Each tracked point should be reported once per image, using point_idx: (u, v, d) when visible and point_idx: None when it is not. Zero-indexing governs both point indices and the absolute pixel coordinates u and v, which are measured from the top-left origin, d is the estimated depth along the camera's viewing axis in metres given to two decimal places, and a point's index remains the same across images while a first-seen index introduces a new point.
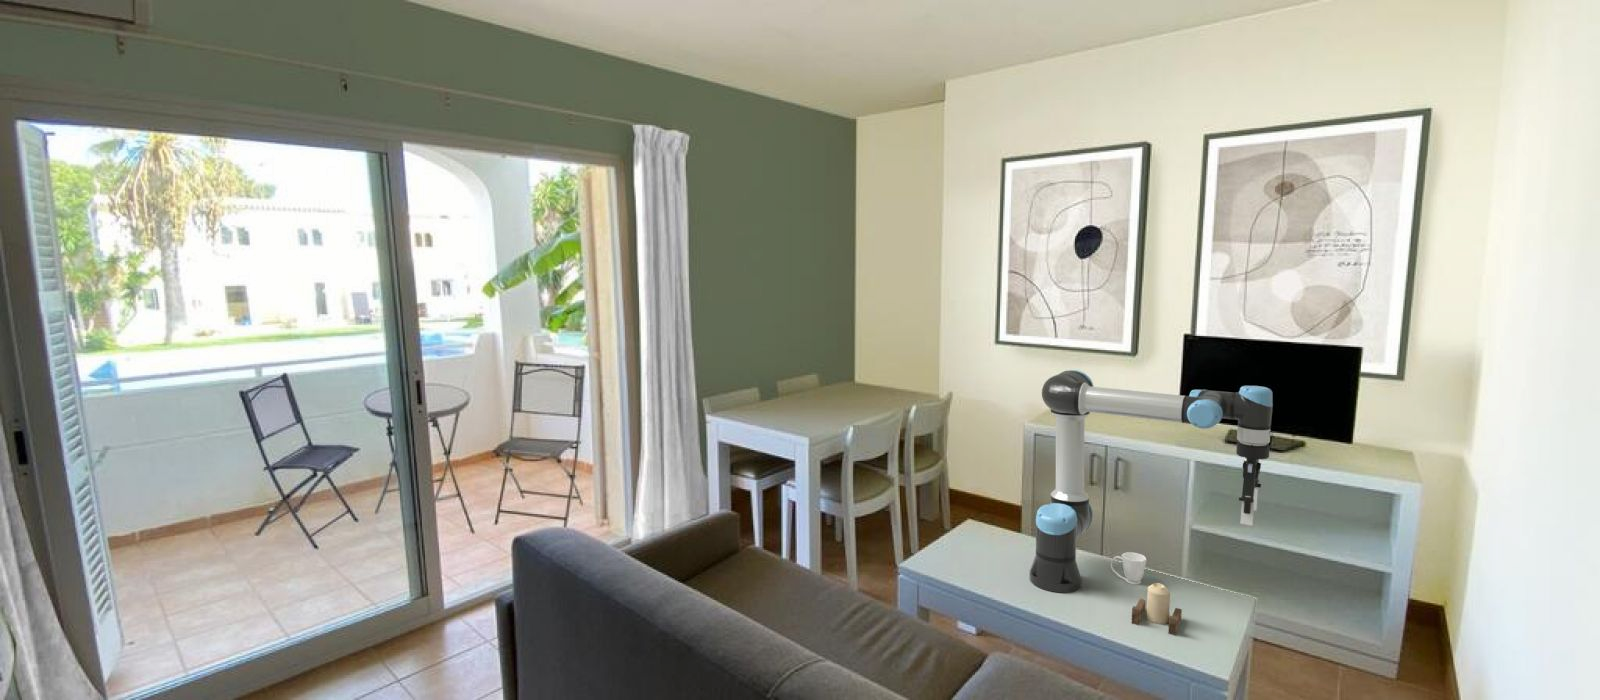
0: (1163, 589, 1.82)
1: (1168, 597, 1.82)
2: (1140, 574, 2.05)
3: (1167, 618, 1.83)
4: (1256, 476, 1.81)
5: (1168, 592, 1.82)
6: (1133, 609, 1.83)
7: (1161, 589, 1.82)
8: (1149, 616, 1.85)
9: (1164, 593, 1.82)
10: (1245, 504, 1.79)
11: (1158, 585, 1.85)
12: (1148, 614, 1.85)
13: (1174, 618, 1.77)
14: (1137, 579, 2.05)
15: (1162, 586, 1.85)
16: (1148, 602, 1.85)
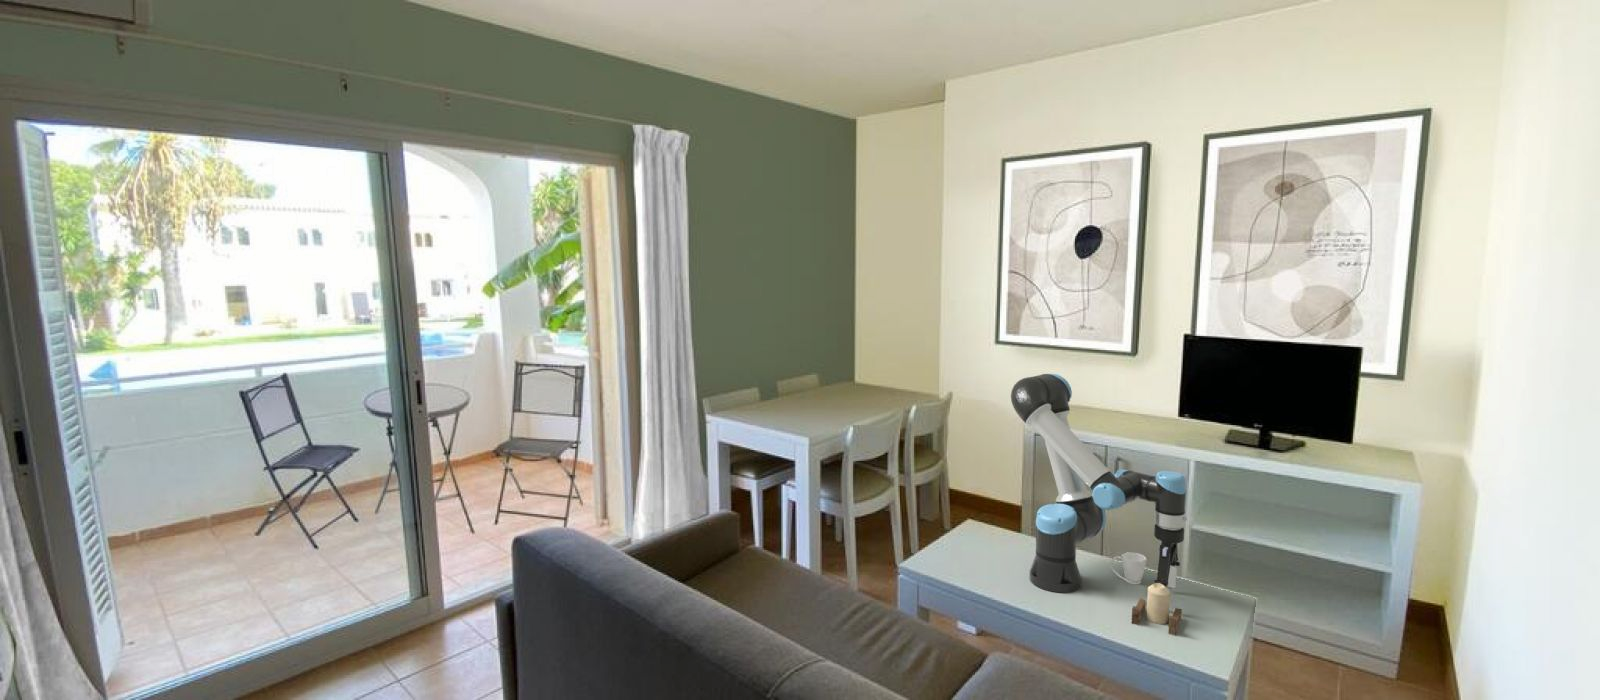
0: (1163, 589, 1.82)
1: (1168, 597, 1.82)
2: (1140, 574, 2.05)
3: (1167, 618, 1.83)
4: (1171, 559, 1.89)
5: (1168, 592, 1.82)
6: (1133, 609, 1.83)
7: (1161, 589, 1.82)
8: (1149, 616, 1.84)
9: (1164, 594, 1.81)
10: None
11: (1158, 585, 1.85)
12: (1148, 614, 1.85)
13: (1174, 618, 1.77)
14: (1137, 579, 2.05)
15: (1162, 586, 1.84)
16: (1148, 602, 1.85)
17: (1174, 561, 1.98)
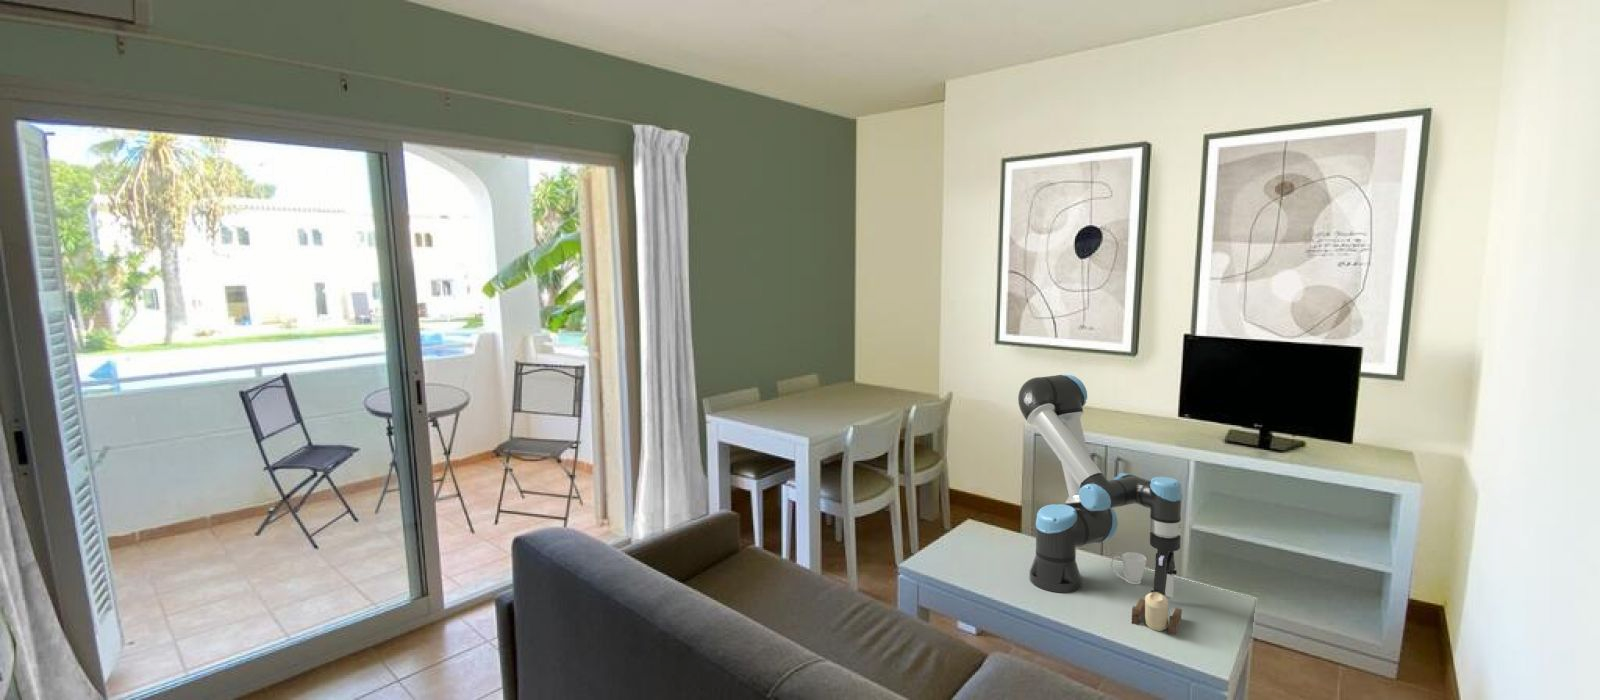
0: (1160, 602, 1.76)
1: (1166, 609, 1.76)
2: (1140, 574, 2.05)
3: (1166, 625, 1.79)
4: (1168, 568, 1.83)
5: (1166, 604, 1.76)
6: (1133, 609, 1.83)
7: (1158, 603, 1.76)
8: (1147, 623, 1.81)
9: (1161, 607, 1.75)
10: None
11: (1156, 595, 1.78)
12: (1146, 620, 1.81)
13: (1174, 618, 1.77)
14: (1137, 579, 2.05)
15: (1160, 596, 1.78)
16: (1146, 611, 1.80)
17: (1171, 569, 1.92)
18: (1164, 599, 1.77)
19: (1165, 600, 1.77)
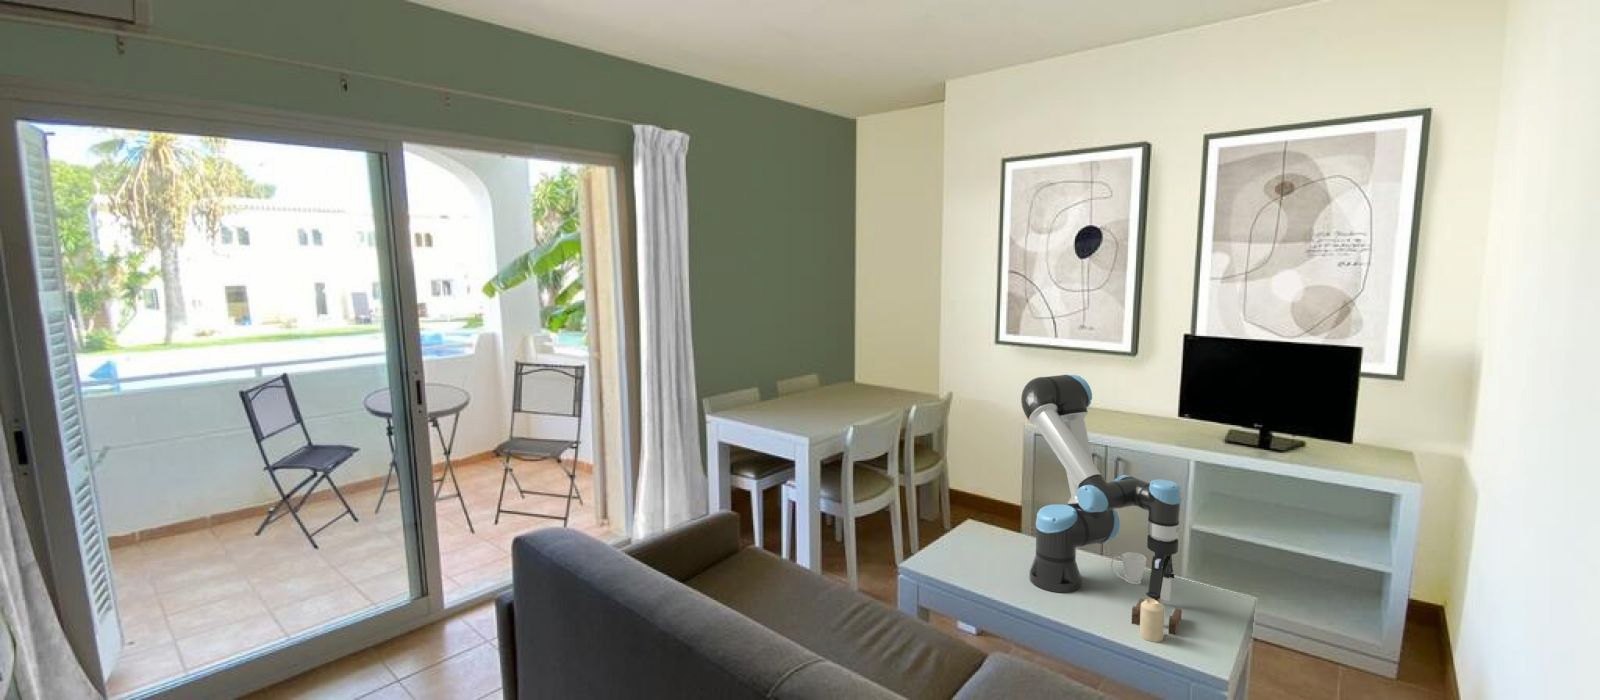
0: (1157, 605, 1.74)
1: (1162, 614, 1.74)
2: (1140, 574, 2.05)
3: (1161, 636, 1.74)
4: (1164, 571, 1.82)
5: (1162, 608, 1.74)
6: (1133, 609, 1.83)
7: (1155, 605, 1.74)
8: (1143, 634, 1.76)
9: (1158, 610, 1.73)
10: None
11: (1151, 601, 1.77)
12: (1142, 632, 1.76)
13: (1174, 618, 1.77)
14: (1137, 579, 2.05)
15: (1156, 602, 1.76)
16: (1142, 619, 1.76)
17: (1168, 573, 1.90)
18: (1160, 604, 1.75)
19: (1161, 605, 1.75)
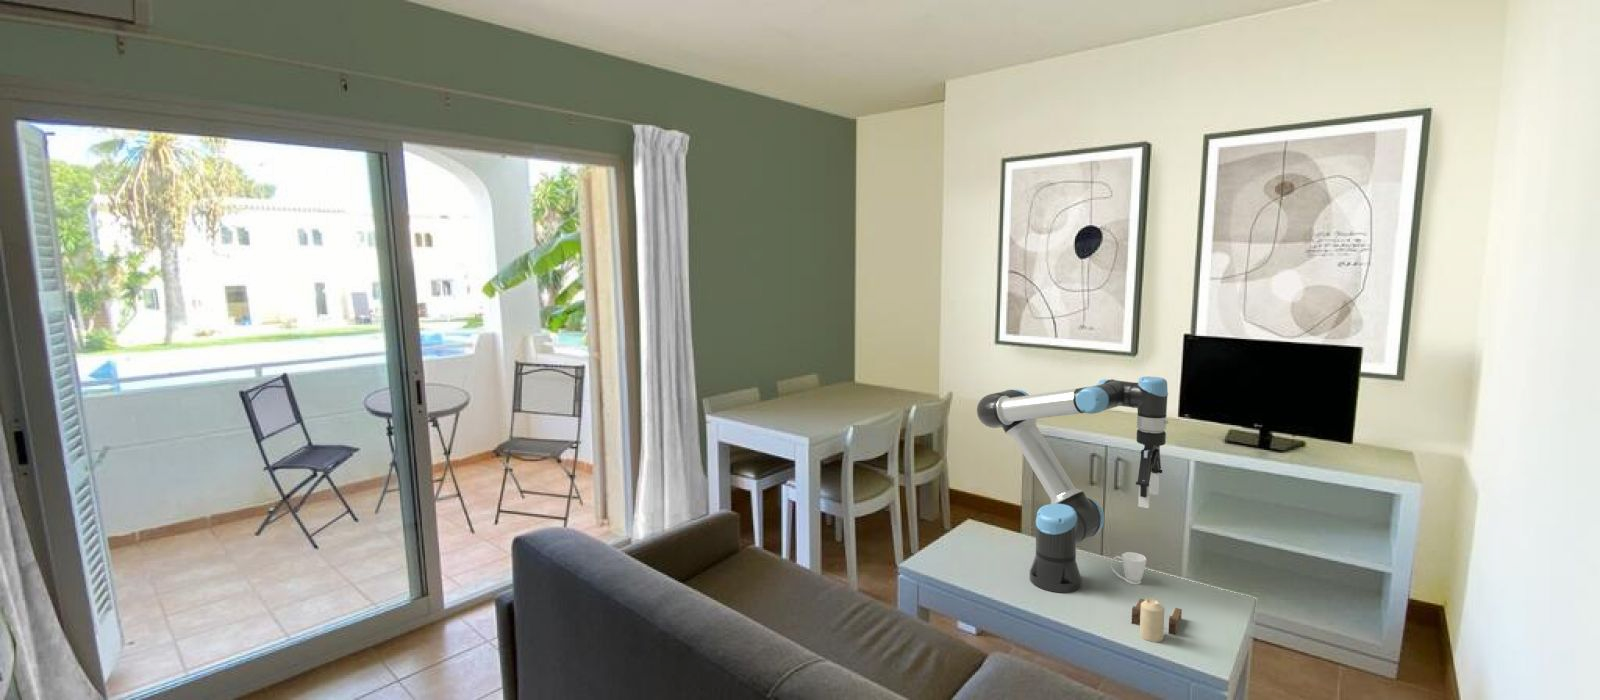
0: (1157, 605, 1.74)
1: (1163, 614, 1.74)
2: (1140, 574, 2.05)
3: (1162, 636, 1.74)
4: (1152, 462, 1.92)
5: (1162, 608, 1.74)
6: (1133, 609, 1.83)
7: (1155, 605, 1.74)
8: (1143, 634, 1.76)
9: (1158, 610, 1.73)
10: (1141, 488, 1.90)
11: (1151, 601, 1.77)
12: (1142, 632, 1.76)
13: (1174, 618, 1.77)
14: (1137, 579, 2.05)
15: (1156, 602, 1.76)
16: (1142, 619, 1.76)
17: (1156, 468, 2.00)
18: (1160, 604, 1.75)
19: (1161, 605, 1.75)
